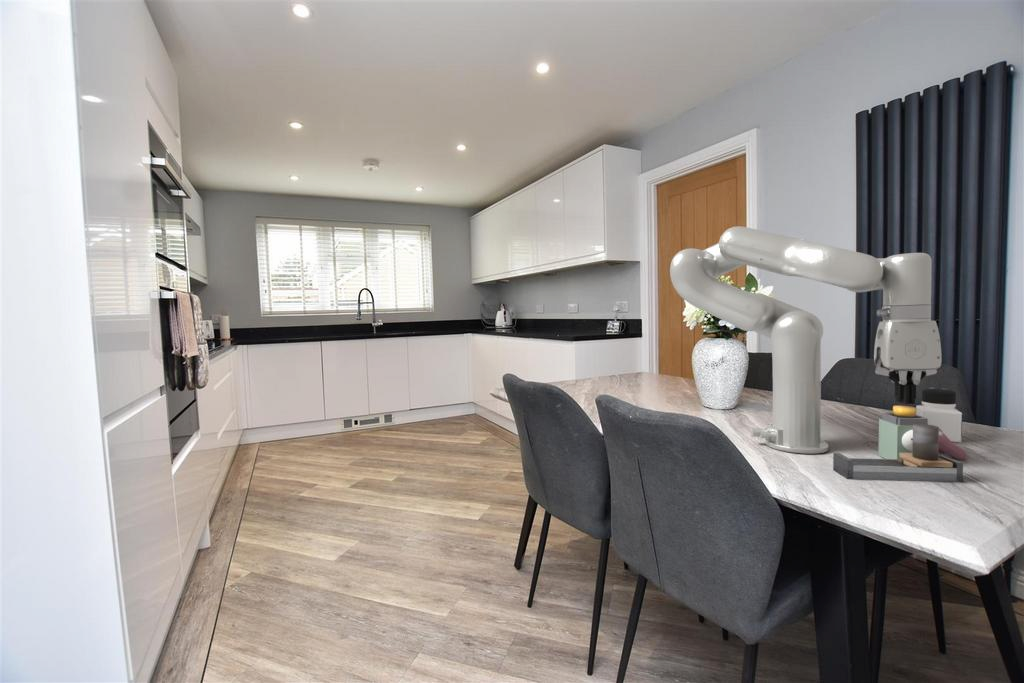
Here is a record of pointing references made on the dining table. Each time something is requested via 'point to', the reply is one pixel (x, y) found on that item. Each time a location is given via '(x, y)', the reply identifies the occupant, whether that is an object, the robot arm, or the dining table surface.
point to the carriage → (925, 448)
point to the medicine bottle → (942, 412)
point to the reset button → (904, 411)
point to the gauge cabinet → (897, 434)
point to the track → (895, 469)
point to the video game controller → (949, 447)
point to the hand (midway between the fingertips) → (905, 402)
